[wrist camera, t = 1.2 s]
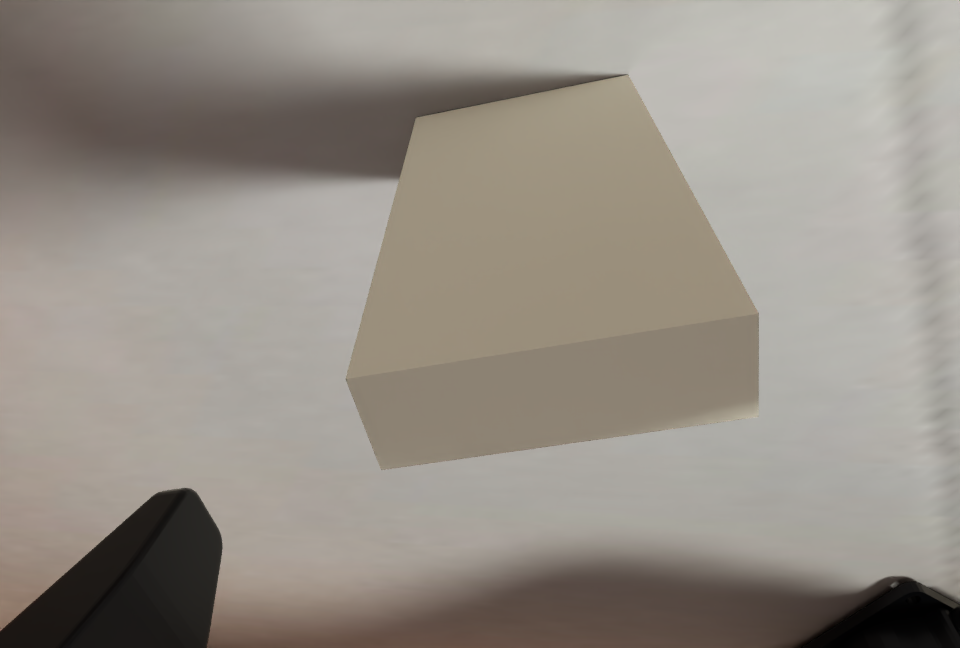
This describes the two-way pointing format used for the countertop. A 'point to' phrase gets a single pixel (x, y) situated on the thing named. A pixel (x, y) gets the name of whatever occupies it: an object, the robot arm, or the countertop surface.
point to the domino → (547, 287)
